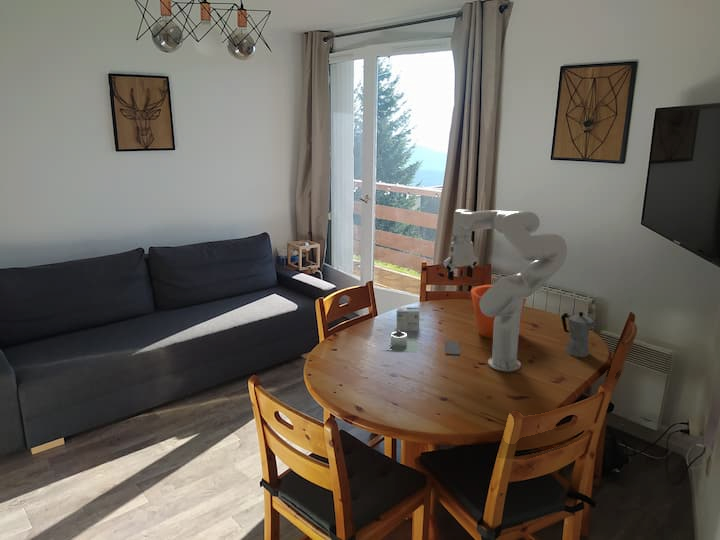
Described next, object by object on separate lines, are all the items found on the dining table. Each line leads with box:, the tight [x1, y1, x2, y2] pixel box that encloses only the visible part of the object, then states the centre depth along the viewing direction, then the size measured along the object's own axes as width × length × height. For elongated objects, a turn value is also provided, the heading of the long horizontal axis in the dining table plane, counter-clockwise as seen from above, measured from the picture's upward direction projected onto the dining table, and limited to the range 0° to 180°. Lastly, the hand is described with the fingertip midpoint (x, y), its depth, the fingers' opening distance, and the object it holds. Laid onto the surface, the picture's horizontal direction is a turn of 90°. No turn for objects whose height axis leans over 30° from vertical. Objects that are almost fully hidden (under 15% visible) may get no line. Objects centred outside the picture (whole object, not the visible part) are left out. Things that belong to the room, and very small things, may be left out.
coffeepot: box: [561, 311, 596, 358], centre depth 214 cm, size 15×9×18 cm, turn 33°
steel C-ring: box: [390, 331, 408, 347], centre depth 225 cm, size 7×7×4 cm
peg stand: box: [388, 330, 418, 353], centre depth 225 cm, size 16×16×7 cm
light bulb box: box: [396, 306, 420, 332], centre depth 243 cm, size 11×7×11 cm, turn 84°
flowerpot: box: [470, 284, 527, 340], centre depth 236 cm, size 25×25×20 cm
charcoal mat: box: [444, 340, 461, 356], centre depth 223 cm, size 14×14×1 cm
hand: (460, 278), depth 220 cm, fingers open, 9 cm apart
